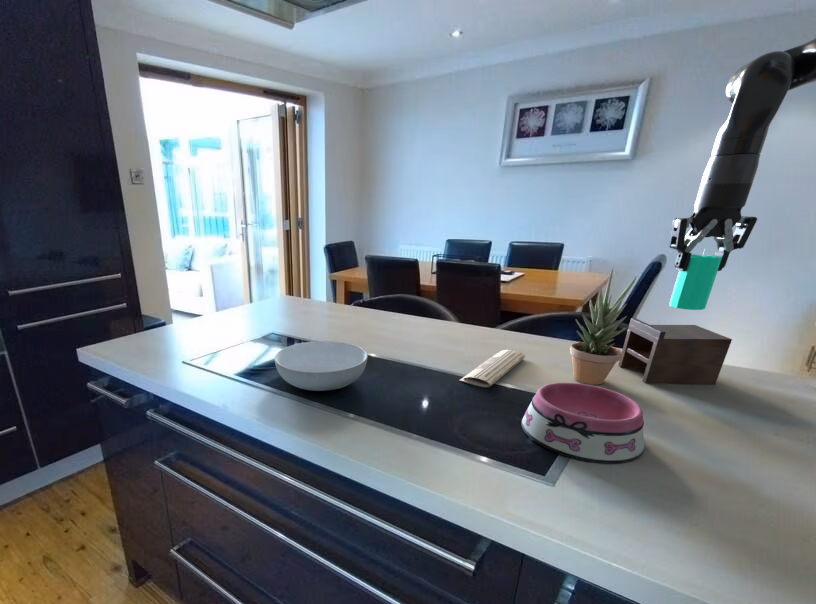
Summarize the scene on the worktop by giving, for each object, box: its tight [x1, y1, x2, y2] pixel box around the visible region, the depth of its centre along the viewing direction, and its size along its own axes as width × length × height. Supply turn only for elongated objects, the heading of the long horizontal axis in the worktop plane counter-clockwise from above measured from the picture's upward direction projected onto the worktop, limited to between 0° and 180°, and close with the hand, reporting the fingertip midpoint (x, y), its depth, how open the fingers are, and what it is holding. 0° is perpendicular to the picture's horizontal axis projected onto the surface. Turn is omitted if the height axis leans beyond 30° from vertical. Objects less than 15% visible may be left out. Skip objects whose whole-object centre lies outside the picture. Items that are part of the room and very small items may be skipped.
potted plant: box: [569, 267, 638, 385], centre depth 94 cm, size 10×10×25 cm
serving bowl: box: [274, 340, 368, 392], centre depth 100 cm, size 21×21×7 cm
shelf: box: [618, 317, 733, 386], centre depth 98 cm, size 14×11×12 cm
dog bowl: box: [520, 382, 645, 464], centre depth 76 cm, size 18×19×7 cm
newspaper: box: [458, 349, 526, 388], centre depth 106 cm, size 24×7×2 cm, turn 138°
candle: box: [668, 247, 722, 311], centre depth 92 cm, size 6×6×12 cm
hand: (698, 270), depth 91 cm, fingers closed on candle, 6 cm apart
